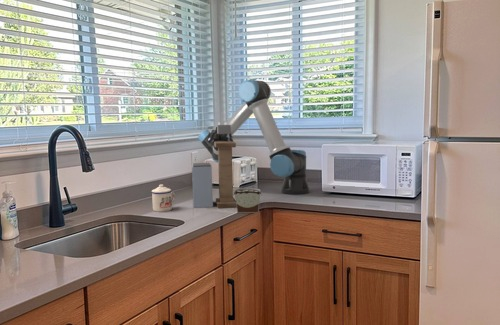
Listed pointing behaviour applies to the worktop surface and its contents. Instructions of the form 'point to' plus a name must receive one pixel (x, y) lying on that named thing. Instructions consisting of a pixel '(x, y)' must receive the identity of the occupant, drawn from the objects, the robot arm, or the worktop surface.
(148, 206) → the worktop surface
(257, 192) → the food container
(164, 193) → the teacup with lid
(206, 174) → the blue-grey tall block
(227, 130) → the handle
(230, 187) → the stand
